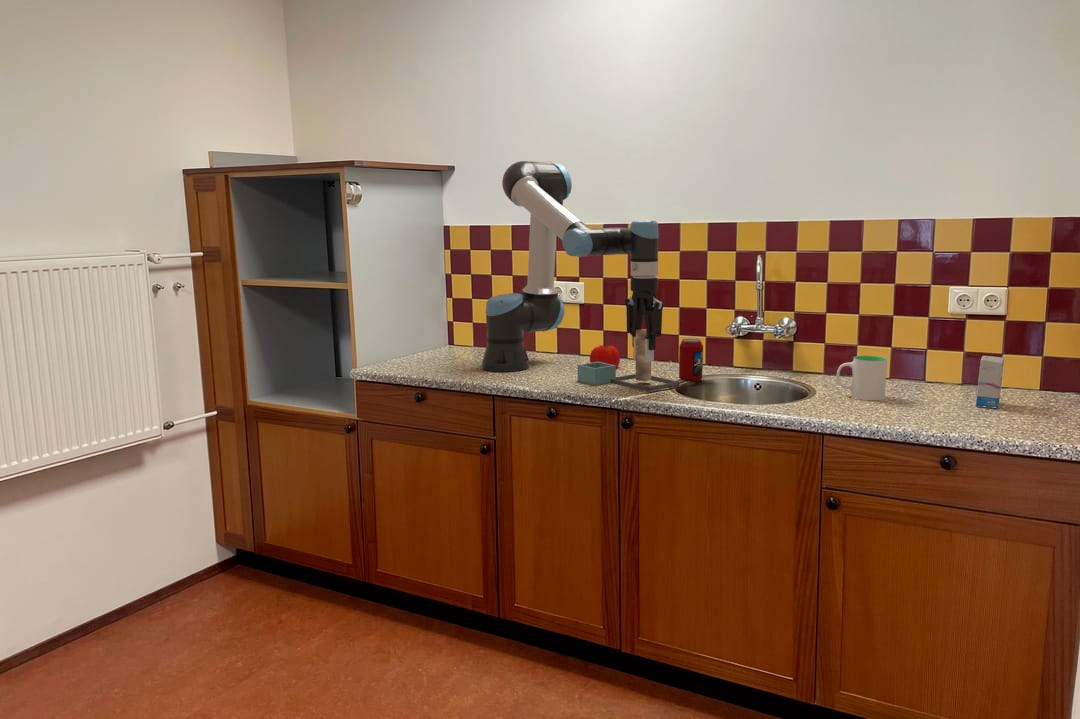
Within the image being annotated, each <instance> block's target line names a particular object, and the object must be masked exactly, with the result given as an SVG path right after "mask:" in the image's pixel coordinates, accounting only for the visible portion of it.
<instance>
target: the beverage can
mask: <svg viewBox="0 0 1080 719" xmlns="http://www.w3.org/2000/svg"><path fill="white" fill-rule="evenodd" d="M678 353H679V354H678V355H679V356H678V358H679V359H678V361H679V362H678V378H679V379H680V380H681V381H684V382H690V383H698V382H700V381H701V380H702V379H703V373H704V372H703V370H704V368H703V366H704V345H703V342H702V341H701V339H698V338H683V339H681V342H680V344H679V352H678Z"/></svg>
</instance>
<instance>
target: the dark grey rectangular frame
mask: <svg viewBox="0 0 1080 719" xmlns="http://www.w3.org/2000/svg"><path fill="white" fill-rule="evenodd" d="M631 379H632V380H633V379H636V373H632V374H628V375H627V374H625V375H622V376H616V380H615V379H611V384H616V385H618V386H619V385H620V386H624V387H629V388H633V389H637V390H640V391H645V394H646V395H650V394H653V393H654V394H655V393H659V392H665V391H669V390H670V391H671V390H676V389H679V388H680V387H679V386H680V381H678V380H672V379H668V378H663V377H659V376H654V375H651V380H650V381H655V382H660V383H662V384H657V385H656V384H655V385H652V386H646V385H641V384H637V383H632V382H628V381H626V380H631Z"/></svg>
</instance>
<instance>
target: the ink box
mask: <svg viewBox="0 0 1080 719" xmlns="http://www.w3.org/2000/svg"><path fill="white" fill-rule="evenodd" d="M1004 363H1005V358H1004V357H1001V356H1000V357H999V356H992V355H982V356H981V359H980V365H979V373H978V381H977V390H976V401H975V407H976V406H986V407H996V408H997V407H998V408H999V404H1000V399H1001V391H1002V383H1003V374H1004V365H1005V364H1004ZM998 408H997V409H998Z"/></svg>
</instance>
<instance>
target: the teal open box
mask: <svg viewBox="0 0 1080 719" xmlns="http://www.w3.org/2000/svg"><path fill="white" fill-rule="evenodd" d="M576 368H577V382H580V383H583V384H588V385H592V386H598V385H606V384H610V383H611V379H615V380H616V377H617V376H616V375H617V368H616V365H611V364H606V363H602V362H593V363H590V362H589V363H581V364H577V367H576ZM611 384H612V383H611Z"/></svg>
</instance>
